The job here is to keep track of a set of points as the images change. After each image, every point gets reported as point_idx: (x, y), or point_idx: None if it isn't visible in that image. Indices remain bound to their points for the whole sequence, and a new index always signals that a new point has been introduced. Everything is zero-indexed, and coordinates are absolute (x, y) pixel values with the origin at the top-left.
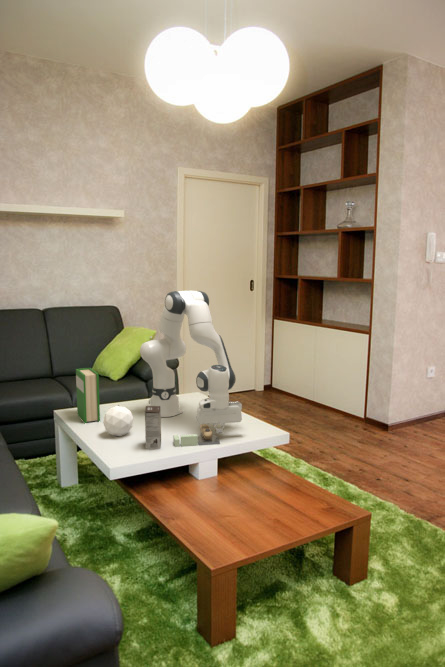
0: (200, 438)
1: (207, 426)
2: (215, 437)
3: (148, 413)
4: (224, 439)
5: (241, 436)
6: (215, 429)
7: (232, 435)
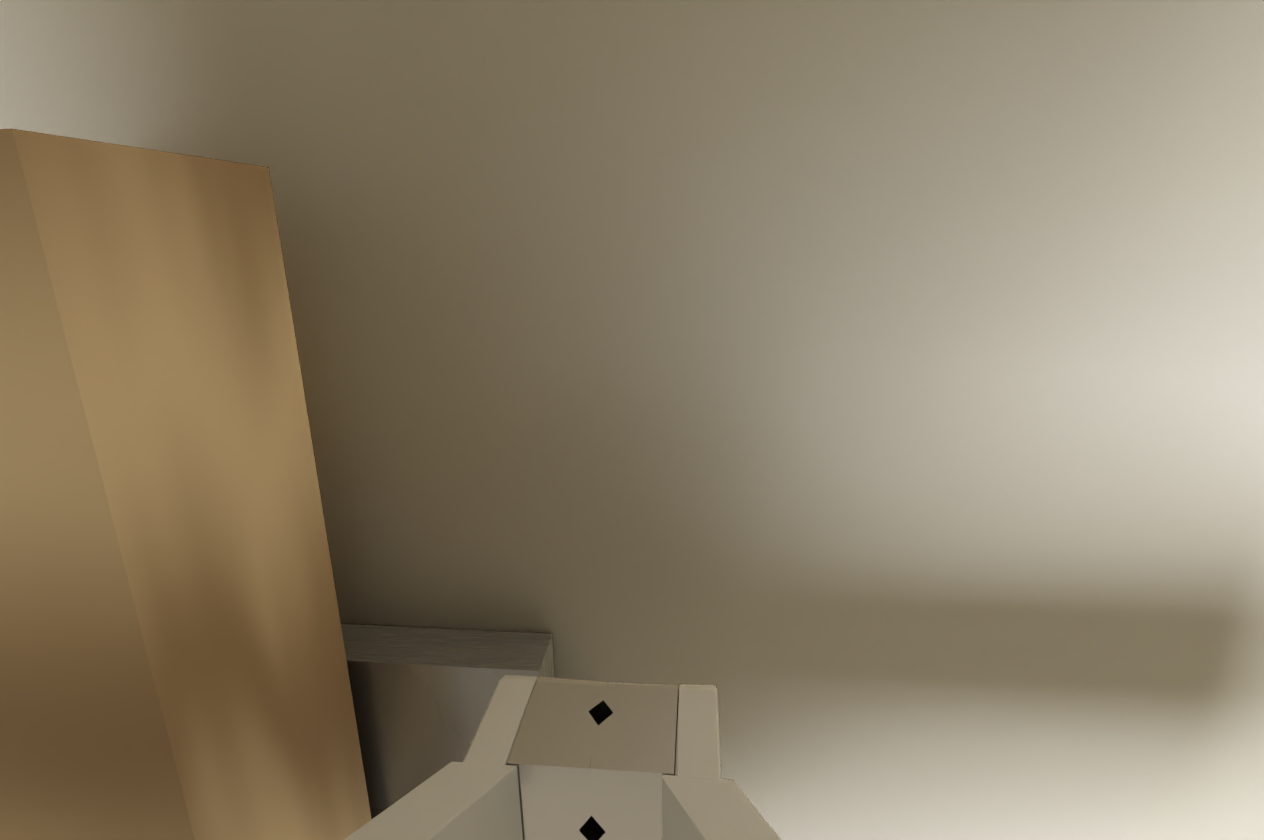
0: None
1: (108, 680)
2: None
3: None
4: None
5: (1251, 706)
6: (477, 730)
7: (1032, 575)
